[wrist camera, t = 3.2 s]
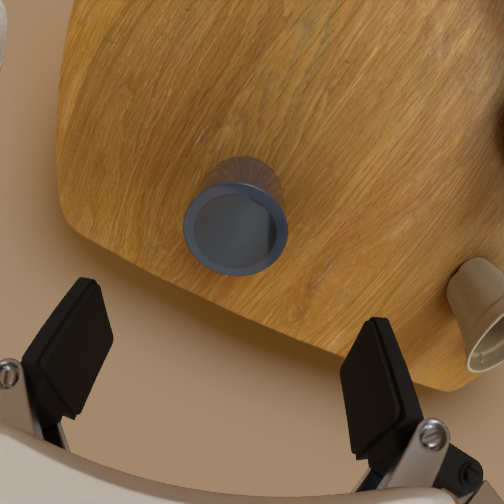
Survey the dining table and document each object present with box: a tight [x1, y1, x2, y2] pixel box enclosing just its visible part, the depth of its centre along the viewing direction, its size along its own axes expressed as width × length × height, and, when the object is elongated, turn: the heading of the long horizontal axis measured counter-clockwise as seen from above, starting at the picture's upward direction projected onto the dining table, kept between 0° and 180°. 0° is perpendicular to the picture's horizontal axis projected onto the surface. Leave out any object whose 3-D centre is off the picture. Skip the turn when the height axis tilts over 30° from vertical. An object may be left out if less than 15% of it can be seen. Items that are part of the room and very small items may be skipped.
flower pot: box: [447, 257, 504, 373], centre depth 20 cm, size 9×9×9 cm
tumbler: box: [183, 156, 288, 276], centre depth 18 cm, size 6×6×6 cm
